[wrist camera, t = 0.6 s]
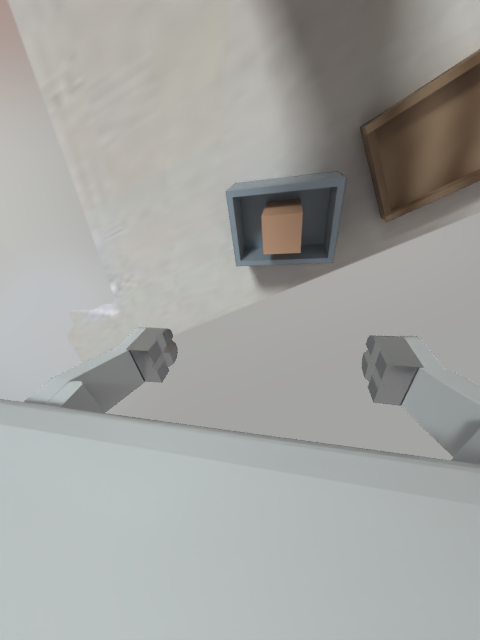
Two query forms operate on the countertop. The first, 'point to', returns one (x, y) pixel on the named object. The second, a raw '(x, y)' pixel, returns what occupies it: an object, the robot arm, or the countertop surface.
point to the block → (282, 227)
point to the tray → (427, 142)
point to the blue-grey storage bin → (317, 221)
